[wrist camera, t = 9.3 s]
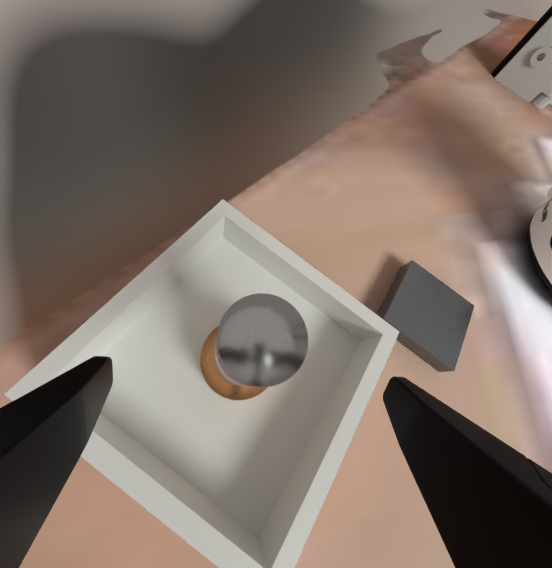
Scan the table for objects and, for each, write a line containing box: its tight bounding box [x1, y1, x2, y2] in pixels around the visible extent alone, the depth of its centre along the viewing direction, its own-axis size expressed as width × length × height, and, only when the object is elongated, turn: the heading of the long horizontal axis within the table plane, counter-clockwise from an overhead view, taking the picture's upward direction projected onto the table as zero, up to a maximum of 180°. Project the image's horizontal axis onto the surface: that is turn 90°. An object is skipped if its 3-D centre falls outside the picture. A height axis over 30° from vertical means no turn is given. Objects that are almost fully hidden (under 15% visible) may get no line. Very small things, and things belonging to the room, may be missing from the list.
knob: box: [200, 293, 308, 400], centre depth 13 cm, size 5×5×10 cm
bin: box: [4, 200, 399, 568], centre depth 17 cm, size 16×16×4 cm
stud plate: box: [377, 260, 474, 372], centre depth 23 cm, size 7×7×2 cm
